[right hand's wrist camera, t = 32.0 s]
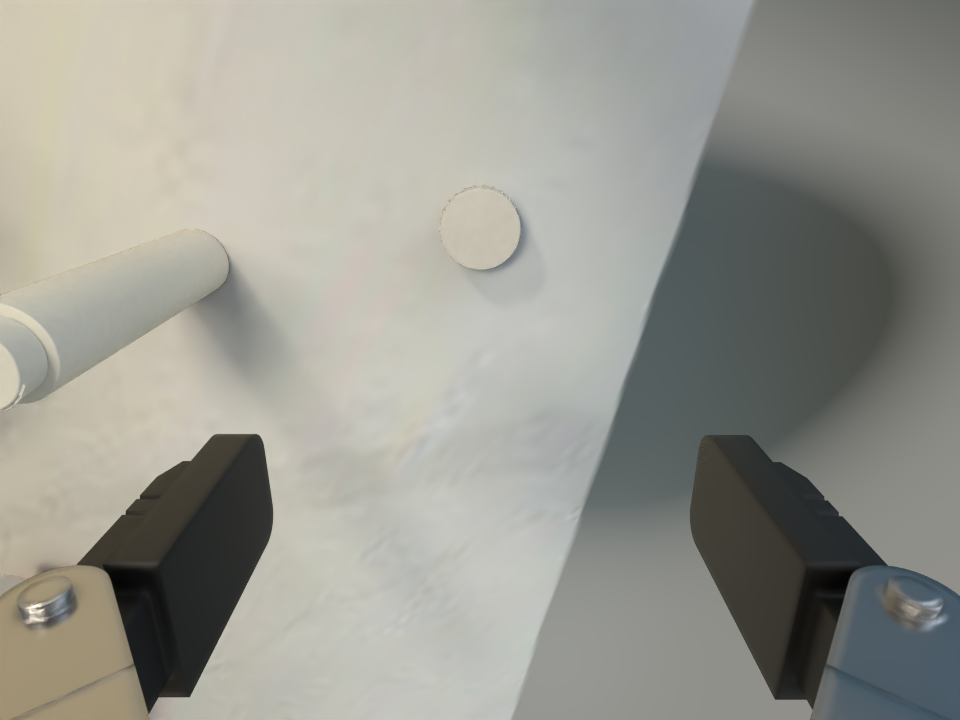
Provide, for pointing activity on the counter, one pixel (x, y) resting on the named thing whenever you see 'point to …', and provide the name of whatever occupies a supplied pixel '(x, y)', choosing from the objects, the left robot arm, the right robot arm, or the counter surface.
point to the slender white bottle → (100, 310)
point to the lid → (480, 227)
